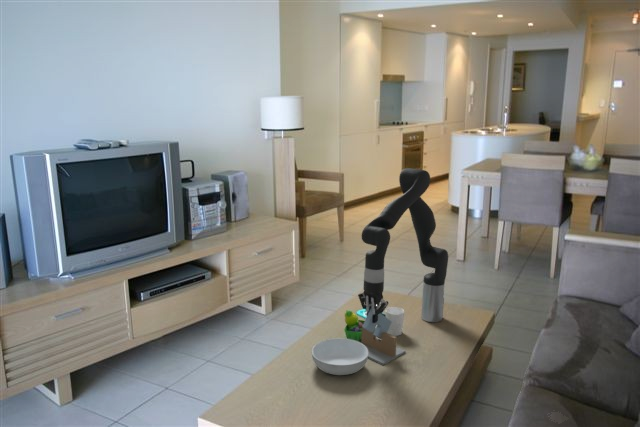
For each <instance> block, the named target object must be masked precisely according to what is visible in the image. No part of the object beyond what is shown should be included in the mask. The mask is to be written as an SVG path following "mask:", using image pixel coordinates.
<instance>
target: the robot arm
mask: <svg viewBox="0 0 640 427" xmlns="http://www.w3.org/2000/svg"><path fill="white" fill-rule="evenodd" d="M398 177H399V179H398V181H399V188H400V190H401V191H402V194H401V195H399V196H398V197H396V198H394V199H393V200H391V201H390V202H389V203H388V204H386V206H384V207H383V209H382V211H381V212H380V213H379V215H378V216H376V217H375V218H373V219H372V221H370V222H369V223H367V224H366V225H365V227H363V229H362V232H361V240H362V242H363V243H365V244H367V245H370V246H373V247H374V246H375V250H374V249H373V250H368V251H367V252H366V253H365V259H364V261H365V263H364V272H363V292H361V293H359V294H358V295H357V297H358V299H359V302H360V305H361V308H362V309H365V310H366V312H367V315H368V313H369V311H370V309H371V308H372V309H373V318H372V323H376V322H377V321H378V314H380V313H384V312H385V310H386V308H388V305H389V301H388V300H386V301H385V299H384V295H383V292H384V287H385V285H384V284H385V258H386V254H387V251H388V248H389V244H390V241H391V233H390V230H392V229H394V228H395V226H396V225H397V223H398V222H399V220H400V219H401V218H402V216H403V215H405V214H404V213H405V212H407V211H408V209H409V213H410V214H409V215H410V218H411V221H412V225H413V229H414V231H415V235H416V240H417V244H418V248H419V249H418V250H419V256H420V261H421V263H422V265H423V266H425V267H428V268H431V269H434V272H429V273H426V274H424V276H423V284H422V286H423V287H422V300H421V302H422V303H421V313H420V315H421V316H420V317H421V320H424V321H425V322H428V323H439V322H441V321H442V320H443V317H444V306H445V297H444V294H445V283H446V282H445V281H446V278H447V272H448V270H447V269H448V265H449V264H448V263H449V253H448V251H447V250H446V249H445V248H439V247H436V246H433V245H432V243H431V238H432V236H433V234H434V232H435V230H436V226H437V222H436V219H435V214H434V212H433V210H432V209H431V207H430V206H429V205H428V204H427V202H425V201H424V199H423V198H422V196H423V194H425V192H427V190H428V188H430V184H431V175H430V173H429V171H427V170H425V169H419V168H409V167H407V168H406V167H405V168H403V169H402V170H401V171H400V172H399V176H398Z"/></svg>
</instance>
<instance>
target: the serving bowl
mask: <svg viewBox="0 0 640 427" xmlns="http://www.w3.org/2000/svg"><path fill="white" fill-rule="evenodd" d="M368 354H369V352H368V349H367V347H366V346H365V345H363V344H362V343H361V341H359V342H358V341H355V340H351V339H347V338H342V337H335V338H333V337H332V338H328V339H327V338H326V339H324V340H321V341H319V342H317V343H315V344H314V346H313V347H312V348H311V358H312V360H313V363H314V364H315V366H316V367H317V368H319V370H321V371H323V373H327V374H331V375H334V376H346V375H347V376H348V375H352V374H354V373H357V372H358V371H360V370H361V369H362V368H363V367H364V366H365V365H366V363H367V361H368V359H369V358H368Z"/></svg>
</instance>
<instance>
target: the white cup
mask: <svg viewBox="0 0 640 427" xmlns="http://www.w3.org/2000/svg"><path fill="white" fill-rule="evenodd" d="M384 312H385V313H384V314H385V317H386V318H387V319H389V320H390V321H391V322H392V323H391V325H390V327H389V329H388V332H387V333H388V334H391V335H393V336H396V337H397V336H400V335H402V333H403V327H404V318H405V310H404V309H403V308H401V307H399V306H397V307H396V306H389V307H386V308H385V310H384Z"/></svg>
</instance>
